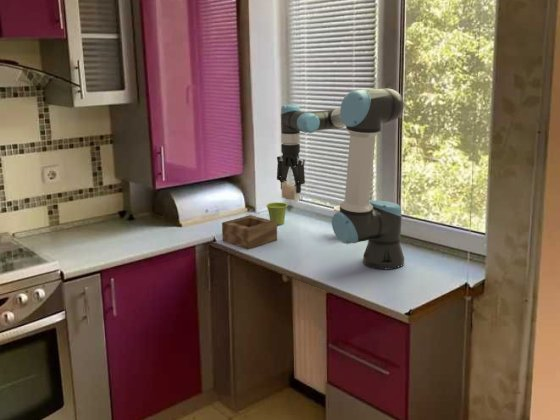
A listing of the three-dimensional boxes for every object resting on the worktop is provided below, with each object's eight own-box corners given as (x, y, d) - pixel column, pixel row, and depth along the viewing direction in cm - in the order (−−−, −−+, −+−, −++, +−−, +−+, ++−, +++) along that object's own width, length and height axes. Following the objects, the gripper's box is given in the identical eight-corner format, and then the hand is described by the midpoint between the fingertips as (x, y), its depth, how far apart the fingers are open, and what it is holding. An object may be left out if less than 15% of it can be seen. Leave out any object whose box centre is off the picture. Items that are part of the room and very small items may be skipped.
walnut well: (277, 240, 268) (276, 222, 266) (248, 249, 257) (248, 230, 255) (250, 232, 279) (250, 214, 276) (222, 241, 268) (221, 222, 265)
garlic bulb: (291, 196, 270) (291, 178, 268) (301, 199, 266) (301, 180, 264) (279, 199, 266) (279, 180, 264) (289, 202, 262) (289, 183, 259)
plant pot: (280, 227, 286) (280, 208, 284) (262, 224, 291) (262, 205, 288) (291, 222, 294) (291, 204, 291) (273, 219, 298) (273, 201, 296)
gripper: (314, 145, 256) (314, 201, 262) (280, 139, 269) (280, 193, 275) (301, 147, 251) (301, 204, 257) (267, 141, 264) (267, 196, 270)
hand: (290, 198), depth 266 cm, fingers closed on garlic bulb, 6 cm apart
